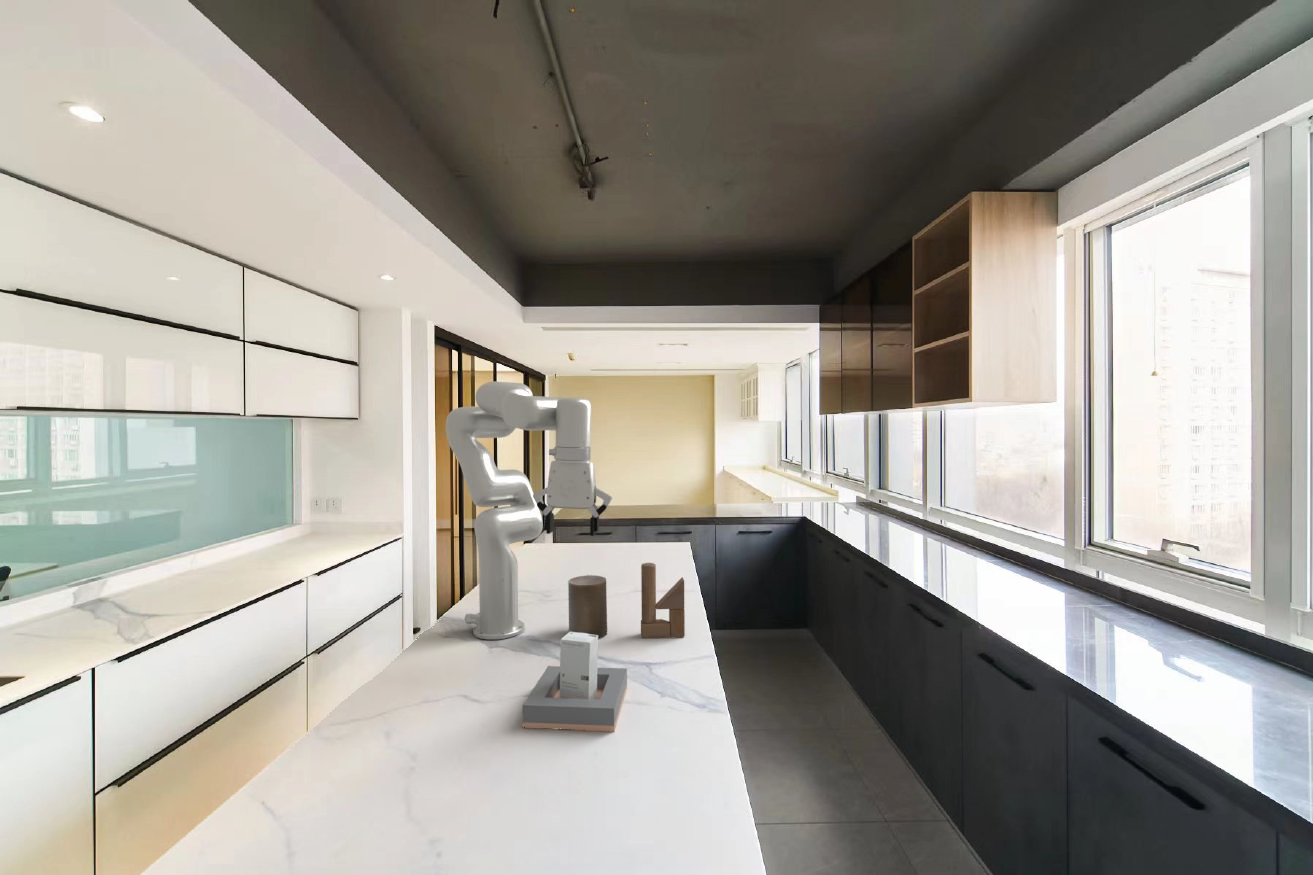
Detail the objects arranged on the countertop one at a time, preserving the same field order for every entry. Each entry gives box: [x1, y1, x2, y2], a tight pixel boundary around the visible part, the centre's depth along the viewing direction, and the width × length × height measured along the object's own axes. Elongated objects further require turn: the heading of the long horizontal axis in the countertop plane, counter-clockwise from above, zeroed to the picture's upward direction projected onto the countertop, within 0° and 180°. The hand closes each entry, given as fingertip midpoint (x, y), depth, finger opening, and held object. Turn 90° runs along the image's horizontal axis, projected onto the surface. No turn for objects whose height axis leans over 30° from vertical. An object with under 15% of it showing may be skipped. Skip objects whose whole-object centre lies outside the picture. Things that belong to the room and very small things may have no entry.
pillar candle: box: [567, 574, 608, 640], centre depth 142 cm, size 10×10×15 cm
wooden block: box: [640, 562, 686, 639], centre depth 140 cm, size 4×11×18 cm, turn 93°
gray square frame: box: [522, 665, 628, 733], centre depth 104 cm, size 16×16×4 cm
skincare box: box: [559, 631, 599, 699], centre depth 104 cm, size 6×4×12 cm
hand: (571, 533), depth 122 cm, fingers open, 9 cm apart
